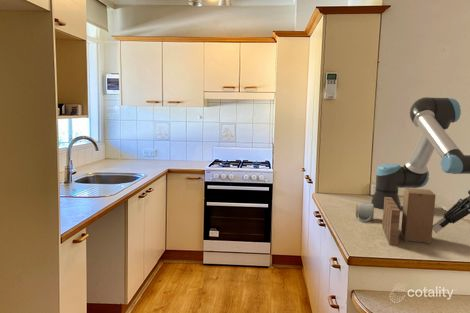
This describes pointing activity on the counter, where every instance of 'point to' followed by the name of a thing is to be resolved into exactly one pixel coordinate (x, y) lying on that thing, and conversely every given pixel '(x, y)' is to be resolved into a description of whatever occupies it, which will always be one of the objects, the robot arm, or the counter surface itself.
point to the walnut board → (391, 221)
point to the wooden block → (418, 215)
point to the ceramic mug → (365, 212)
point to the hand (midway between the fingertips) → (433, 230)
